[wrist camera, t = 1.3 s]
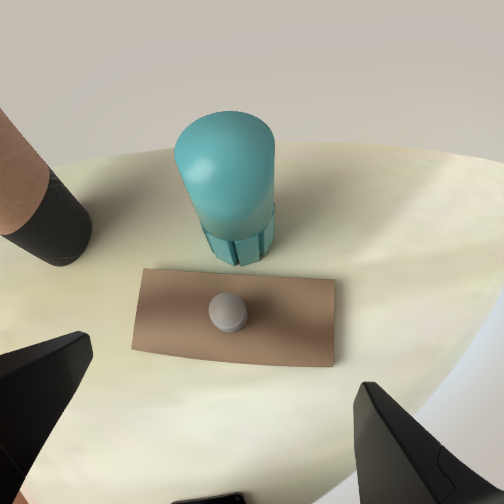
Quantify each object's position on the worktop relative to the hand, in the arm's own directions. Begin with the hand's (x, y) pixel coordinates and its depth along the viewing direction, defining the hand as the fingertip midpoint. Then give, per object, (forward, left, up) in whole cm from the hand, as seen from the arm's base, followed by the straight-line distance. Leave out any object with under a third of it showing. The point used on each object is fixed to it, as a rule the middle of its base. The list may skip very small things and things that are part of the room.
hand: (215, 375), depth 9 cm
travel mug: (-15, +18, -16) cm, 28 cm away
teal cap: (+3, +11, -15) cm, 19 cm away
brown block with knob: (0, +4, -15) cm, 16 cm away
